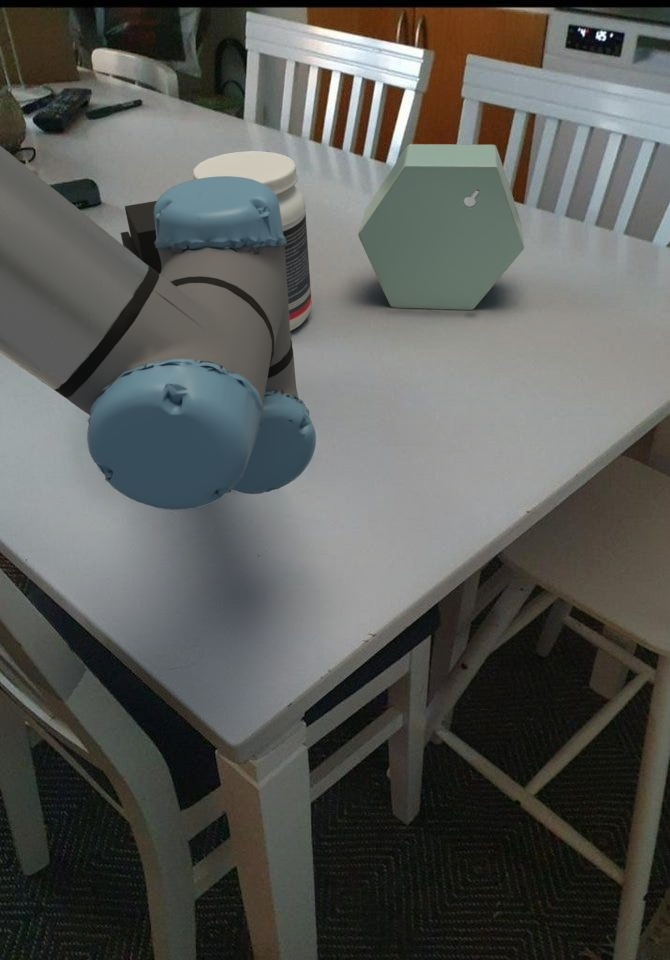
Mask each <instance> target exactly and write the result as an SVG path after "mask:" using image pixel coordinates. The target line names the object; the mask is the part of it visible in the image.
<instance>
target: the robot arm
mask: <svg viewBox="0 0 670 960" xmlns="http://www.w3.org/2000/svg"><path fill="white" fill-rule="evenodd" d="M156 201H157V202H156V204H155V206H154V220H155V229H156V241H155V242H154V243H155V247H156V248H157V249H158V252H159V256H160V259H161V273H160V274H159V273H158V272H156V271H155V270H154V269H153V268H151V267H150V266H149V265H147V264H146V263H144V262H143V261H142V260H141V259H140V257H139V255H138V252H137V250H136V248H135V246H134V244H133V241H132V239H131V235H130V231H122V232H120V236H121V242H122V243H121V242H120V241H118V240H117V239H116V238H115V237H114V236H113V235H111V234H110V232H109V233H108V232H107V231H106V230H105V229H104V228H102V226H100V225H99V224H98V223H96V222H95V221H94V220H93V219H92V218H90V217H89V216H88V215H86V214H85V213H84V212H83V211H82V210H80V209H79V208H78V207H77V206H76V205H74V204H73V203H72V202H71V201H70V200H69V199H67V198H65V196H63V195H62V194H61V193H60V192H59V191H57V190H55V188H53V187H52V186H51V185H50V184H48V183H47V182H46V181H45V180H43V179H42V178H41V177H40V176H38V175H37V173H35V172H34V171H32V170H31V169H30V168H29V167H28V166H26V165H25V164H24V163H22V162H21V161H20V160H18V158H17V157H15V156H14V155H13V154H12V153H10V152H9V151H8V150H7V149H5V148H4V147H2V146H1V145H0V354H1V355H3V356H4V357H5V358H7V359H8V360H10V361H11V362H13V363H14V364H16V365H17V366H19V367H20V368H22V369H23V370H25V371H26V372H28V373H29V374H30V375H32V376H33V377H35V378H36V379H37V380H39V381H40V382H42V383H44V384H45V385H46V386H48V387H50V388H51V389H52V390H54V391H55V392H57V393H58V394H59V395H60V396H62V397H63V398H65V399H66V400H67V401H69V402H70V403H71V404H73V405H74V406H75V407H76V408H78V409H80V410H82V411H83V412H84V413H86V414H87V415H89V417H88V419H87V421H88V427H87V434H86V435H87V436H86V437H87V438H86V439H87V440H86V441H87V447H88V452H89V455H90V457H91V459H92V461H93V463H94V464H96V466H97V468H98V469H99V471H101V473H102V475H104V479H105V481H106V482H107V483H108V484H109V485H110V486H111V487H112V488H113V489H114V490H116V491H117V492H119V493H120V494H122V495H123V496H125V497H126V498H129V499H130V500H132V501H135V502H137V503H140V504H143V505H146V506H150V507H153V508H156V509H163V510H174V511H179V510H180V511H181V510H190V509H191V510H192V509H197V508H201V507H204V506H207V505H209V504H212V503H213V502H216V501H218V500H220V499H221V498H223V497H224V496H225V495H226V494H228V493H231V492H232V491H235V492H238V493H240V494H247V495H248V494H249V495H258V494H264V493H269V492H272V491H275V490H279V489H282V488H283V487H285V486H287V485H289V484H290V483H292V482H294V481H295V480H296V479H297V478H298V477H300V475H301V474H302V473H303V472H304V471H305V470H306V469H307V467H308V466H309V464H310V463H311V461H312V458H313V457H314V454H315V450H316V446H317V434H316V429H315V426H314V424H313V422H312V419H311V417H310V410H309V408H308V407H307V406H306V404H305V402H304V400H302V399H300V397H299V393H298V389H297V380H296V370H295V369H296V367H295V366H296V365H295V357H294V356H295V355H294V348H293V340H292V335H291V331H290V320H289V304H288V289H287V274H286V259H285V245H286V244H287V242H286V240H287V239H286V237H284V235H283V229H282V221H281V214H280V207H279V202H278V199H277V196H276V195H275V193H274V192H273V191H272V190H271V189H270V188H269V187H268V186H266V185H265V184H262V183H260V182H258V181H255V180H252V179H248V178H243V177H232V176H217V177H207V178H200V179H195V180H194V179H191V180H187V181H184V182H180V183H178V184H176V185H174V186H172V187H170V188H168V189H166V191H164V192H163V193H162V194H161V195H160V196H159V197H158V198H157V200H156Z"/></svg>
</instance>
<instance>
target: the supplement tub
mask: <svg viewBox="0 0 670 960" xmlns="http://www.w3.org/2000/svg"><path fill="white" fill-rule="evenodd" d="M192 176H193V177H192V178H193V180H195V179H200V178H207V177H217V176H232V177H243V178H248V179H252V180H255V181H258V182H260V183H262V184H265V185H266V186H268V187H269V188H270V189H271V190H272V191H273V192H274V193H275V195H276V196H277V199H278V202H279V207H280V214H281V221H282V229H283V235H284V237H286V239H287V240H286V242H287V244H286V245H285V259H286V274H287V289H288V304H289V320H290V332H291V331H293V330H295V329H296V328H298V327H299V326H301V325H302V324H303V323H304V322H305V321H306V320H307V318H308V317H309V316H310V313H311V309H312V305H313V302H312V290H311V273H310V260H309V245H308V243H309V242H308V229H307V228H308V227H307V214H306V209H307V208H306V207H307V206H306V202H305V198H304V196H303V194H302V192H301V190H300V189H299V188H298V187H297V186H296V184H297V183H298V180H299V176H298V174H297V166H296V162H295V161H294V160H293V159H292V158H291V157H289V156H287V155H285V154H281V153H277V152H273V151H272V152H271V151H265V150H264V151H263V150H247V151H246V150H245V151H235V152H229V153H224V154H219V155H216V156H215V155H214V156H212V157H209V158H207V159H205V160H203V161H201V162H199V163H198V164H197V165H196V166H195V167H194V168H193V171H192Z"/></svg>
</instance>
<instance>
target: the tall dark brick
mask: <svg viewBox="0 0 670 960" xmlns="http://www.w3.org/2000/svg"><path fill="white" fill-rule="evenodd" d="M156 202H157V200H153V201H147V202H141V203H134V204H129V205H124V210H125V215H126V220H127V226H128V230H129V234H130V237H131V239H132V241H133V244H134V246H135V248H136V250H137V252H138V255H139V257H140V259H141V260H142V261H143V262H144V263H146V264H147V265H149V266H150V267H151V268H153V269H154V270H155V271H156V272H158V273H159V274H160V273H161V259H160V256H159V252H158V249H157V248H156V247H155V243H154V242H155V241H156V229H155V220H154V206H155V204H156Z"/></svg>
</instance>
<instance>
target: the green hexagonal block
mask: <svg viewBox="0 0 670 960" xmlns="http://www.w3.org/2000/svg"><path fill="white" fill-rule="evenodd" d="M477 191H478V193H477V194H476V195H475V196H474V201H475V203H474V205H471V206H469V205H467V204H466V203H465V199H466V198H472V197H473V195H474V194H475V193H476V192H477ZM520 217H521V216H520V214H519V211H518V207H517V205H516V202H515V199H514V196H513V192H512V190H511V187H510V183H509V180H508V177H507V174H506V172H505V168H504V166H503V162H502V159H501V156H500V152H499V150H498V147H497V145H496V144H471V143H470V144H467V143H466V144H461V143H454V144H453V143H452V144H451V143H450V144H449V143H448V144H447V143H446V144H445V143H442V144H441V143H438V144H437V143H434V144H433V143H430V144H429V143H409V144H407V146H406V147H405V149H404V150H403V152H402V153H401V154H400V156H399V158H398V159H397V161H396V163H395V164H394V166H393V167H392V168H391V170H390V172H389V173H388V174H387V176H386V177H385V179H384V180H383V182H382V183H381V185H380V187H379V188H378V190H376V192H375V194H374V195H373V197H372V199H371V200H370V201H369V203H368V204H367V205H366V208H365V209H364V212H363V215H362V219H361V223H360V225H359V230H358V235H357V236H358V238H359V241H360V242H361V246H362V247H363V250H364V251H365V254H366V256H367V258H368V261H369V262H370V265H371V267H372V269H373V271H374V274H375V276H376V278H377V280H378V282H379V285H380V288H381V289H382V291H383V293H384V295H385V298H386V300H387V302H388V305H389V306H390V307H391V308H394V309H395V308H399V309H426V310H427V309H428V310H430V309H431V310H460V311H464V310H465V311H466V310H467V311H473V310H474V309H475V308H477V306H478V305H479V303H480V302H482V300H483V298H484V297H486V295H487V294H488V293H489V292H490V290H491V289H492V288H493V287H494V286H495V284H496V283H497V282H498V281H499V279H500V278H501V277H502V276H503V275H504V274H505V272H506V271H507V270H508V269H509V267H510V266H511V265H512V264H513V263H514V262H515V261H516V259H517V258H518V257H519V256H520V255H521V253H522V252H523V251H524V249H525V243H524V234H523V233H524V232H523V225H522V220H521V218H520Z"/></svg>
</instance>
